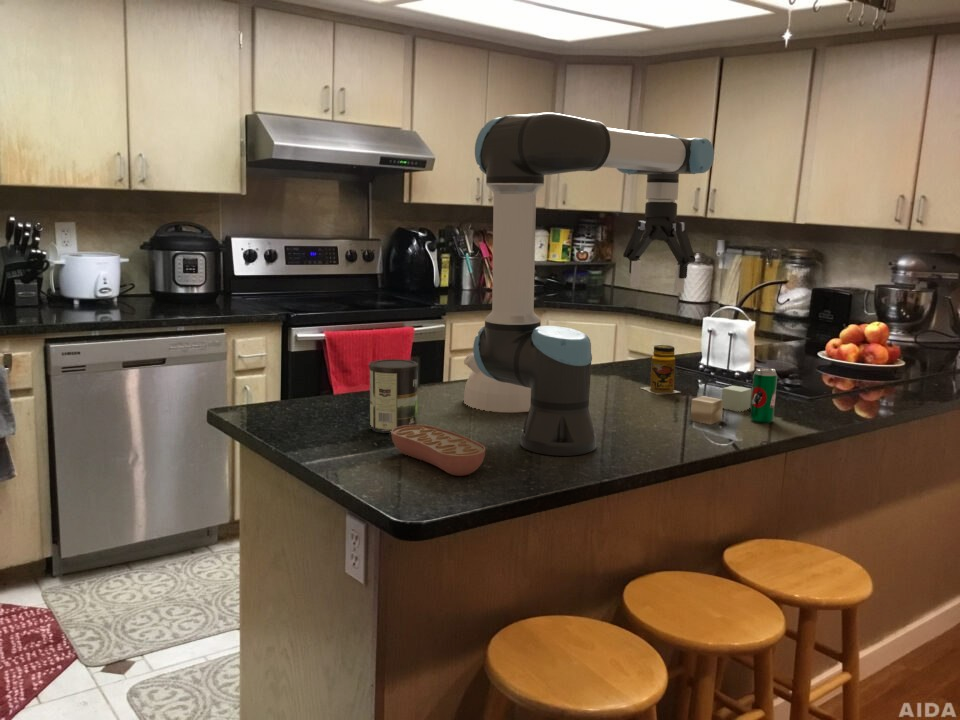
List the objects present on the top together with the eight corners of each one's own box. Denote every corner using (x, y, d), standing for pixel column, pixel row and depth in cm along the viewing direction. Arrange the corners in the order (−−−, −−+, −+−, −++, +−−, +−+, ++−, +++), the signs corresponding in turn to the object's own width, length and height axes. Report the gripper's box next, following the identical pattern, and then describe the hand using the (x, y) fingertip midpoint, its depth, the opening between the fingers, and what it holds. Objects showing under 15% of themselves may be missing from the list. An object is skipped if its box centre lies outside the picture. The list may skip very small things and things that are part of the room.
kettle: (451, 396, 210) (452, 324, 207) (528, 391, 217) (531, 322, 213) (476, 415, 191) (477, 337, 188) (560, 410, 198) (563, 334, 194)
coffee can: (415, 421, 185) (415, 358, 182) (419, 434, 175) (420, 367, 172) (368, 422, 183) (368, 358, 181) (370, 435, 173) (369, 368, 171)
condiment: (658, 395, 215) (661, 349, 213) (639, 388, 223) (641, 343, 221) (681, 393, 218) (684, 347, 216) (661, 386, 226) (664, 342, 224)
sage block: (740, 412, 199) (741, 391, 199) (721, 408, 203) (722, 388, 202) (750, 408, 203) (751, 388, 202) (731, 405, 206) (732, 385, 205)
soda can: (774, 424, 188) (779, 372, 186) (751, 423, 189) (755, 371, 187) (771, 419, 193) (776, 368, 191) (748, 417, 194) (752, 366, 192)
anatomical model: (382, 454, 161) (382, 429, 160) (424, 445, 167) (424, 421, 166) (454, 486, 144) (454, 458, 143) (498, 475, 150) (499, 448, 149)
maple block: (710, 424, 187) (711, 403, 186) (690, 420, 191) (691, 399, 190) (721, 421, 191) (722, 399, 190) (701, 416, 194) (703, 395, 193)
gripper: (714, 202, 194) (708, 293, 198) (632, 200, 213) (627, 284, 217) (694, 201, 190) (688, 295, 194) (612, 200, 209) (607, 285, 213)
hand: (656, 289), depth 205 cm, fingers open, 13 cm apart
